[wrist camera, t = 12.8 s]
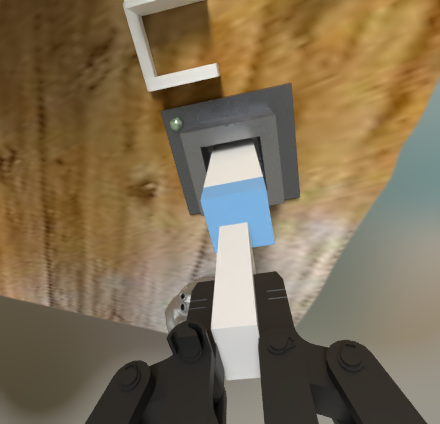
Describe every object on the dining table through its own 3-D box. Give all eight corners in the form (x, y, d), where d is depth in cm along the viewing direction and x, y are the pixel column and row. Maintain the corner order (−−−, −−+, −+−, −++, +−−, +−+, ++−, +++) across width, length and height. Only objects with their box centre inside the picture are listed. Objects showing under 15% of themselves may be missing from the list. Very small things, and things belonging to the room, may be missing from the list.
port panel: (161, 110, 29) (149, 118, 24) (290, 83, 27) (301, 86, 22) (190, 212, 34) (184, 234, 29) (299, 194, 32) (309, 215, 28)
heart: (153, 286, 39) (142, 375, 29) (190, 242, 35) (191, 327, 26) (211, 308, 43) (219, 393, 33) (250, 271, 39) (271, 354, 30)
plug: (213, 143, 29) (200, 200, 17) (251, 135, 29) (266, 188, 16) (222, 178, 31) (215, 253, 19) (257, 172, 31) (274, 243, 18)
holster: (126, 5, 25) (109, -5, 21) (204, -15, 24) (199, -29, 20) (151, 90, 28) (139, 94, 24) (220, 75, 27) (218, 76, 23)
